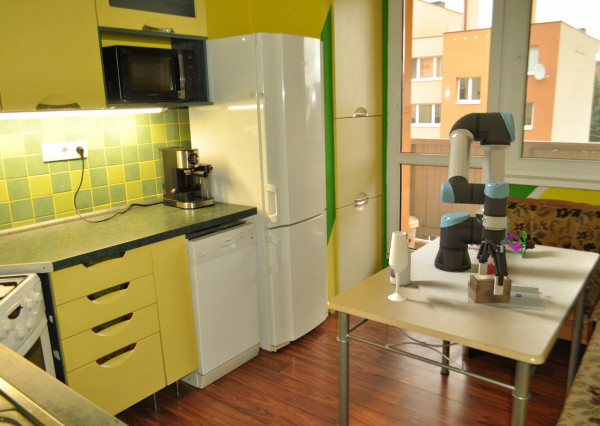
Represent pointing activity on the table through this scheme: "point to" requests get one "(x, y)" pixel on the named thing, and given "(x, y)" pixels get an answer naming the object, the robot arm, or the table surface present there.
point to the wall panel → (518, 298)
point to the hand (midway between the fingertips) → (489, 287)
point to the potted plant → (517, 245)
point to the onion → (490, 269)
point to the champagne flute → (398, 260)
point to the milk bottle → (405, 273)
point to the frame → (488, 289)
